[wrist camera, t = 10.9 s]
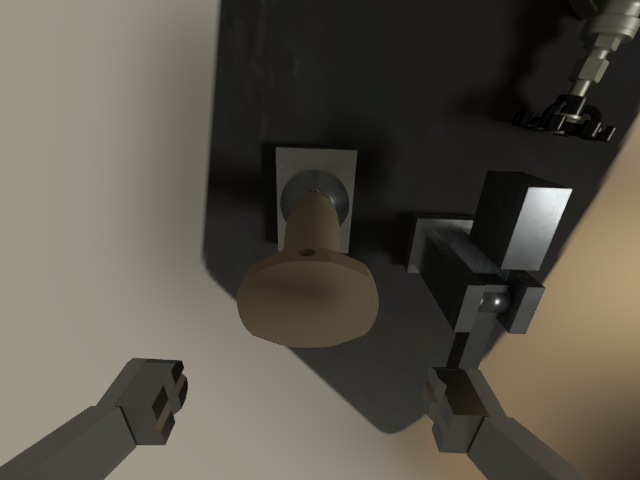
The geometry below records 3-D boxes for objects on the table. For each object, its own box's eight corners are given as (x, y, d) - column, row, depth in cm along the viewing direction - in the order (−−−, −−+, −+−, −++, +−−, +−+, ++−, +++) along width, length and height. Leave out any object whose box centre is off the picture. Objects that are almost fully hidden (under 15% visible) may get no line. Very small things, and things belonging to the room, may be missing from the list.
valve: (569, -58, 21) (494, 121, 26) (671, -125, 15) (547, 127, 20) (652, -35, 21) (562, 136, 26) (784, -90, 15) (635, 146, 20)
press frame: (278, 145, 26) (251, 170, 16) (494, 153, 27) (601, 184, 16) (280, 261, 31) (261, 336, 21) (461, 267, 32) (528, 344, 21)
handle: (277, 178, 26) (230, 261, 12) (349, 178, 26) (382, 260, 12) (281, 228, 28) (243, 347, 14) (348, 228, 28) (374, 347, 14)
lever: (484, 170, 20) (525, 187, 16) (524, 172, 20) (575, 189, 16) (424, 388, 29) (440, 433, 25) (451, 389, 29) (472, 434, 25)
